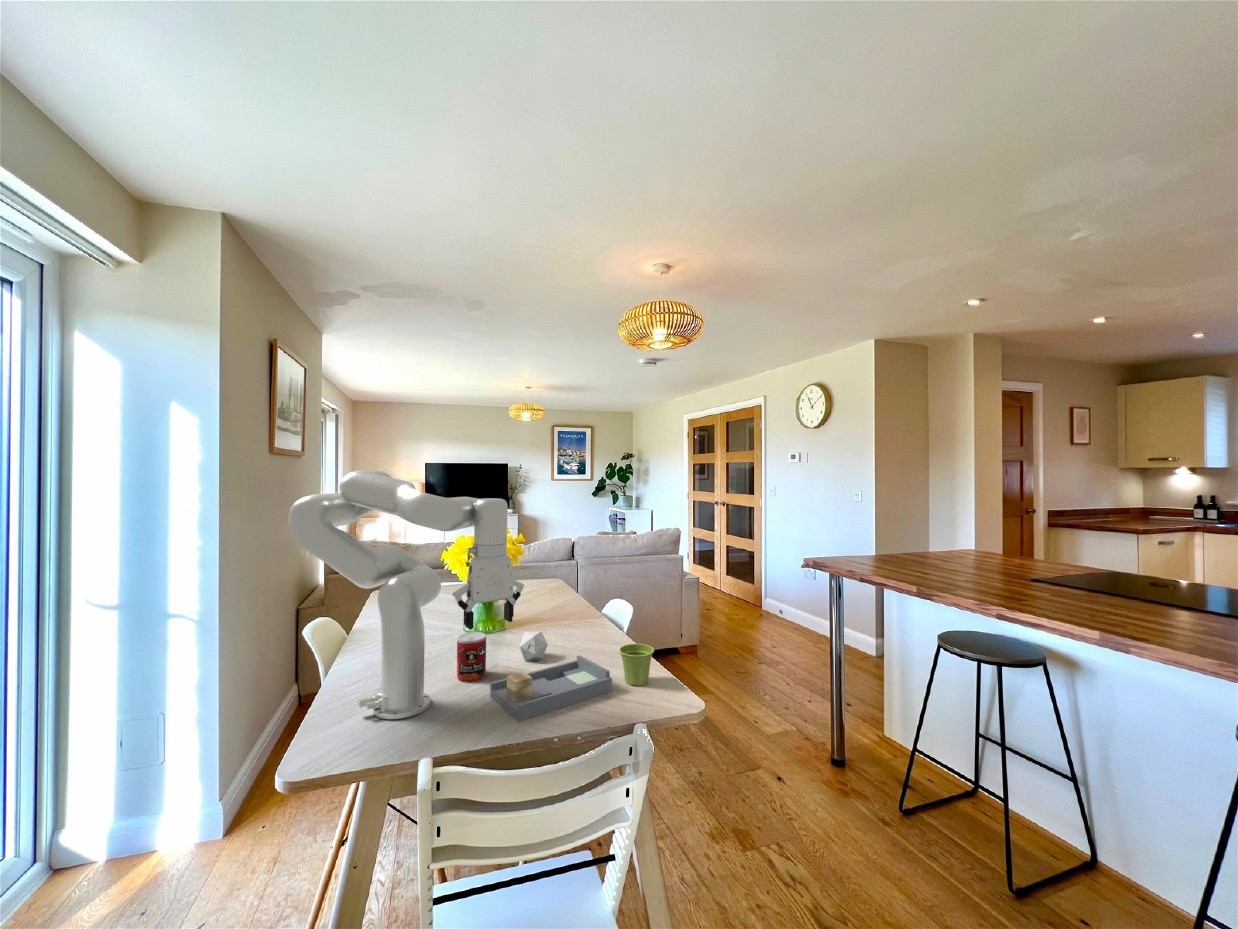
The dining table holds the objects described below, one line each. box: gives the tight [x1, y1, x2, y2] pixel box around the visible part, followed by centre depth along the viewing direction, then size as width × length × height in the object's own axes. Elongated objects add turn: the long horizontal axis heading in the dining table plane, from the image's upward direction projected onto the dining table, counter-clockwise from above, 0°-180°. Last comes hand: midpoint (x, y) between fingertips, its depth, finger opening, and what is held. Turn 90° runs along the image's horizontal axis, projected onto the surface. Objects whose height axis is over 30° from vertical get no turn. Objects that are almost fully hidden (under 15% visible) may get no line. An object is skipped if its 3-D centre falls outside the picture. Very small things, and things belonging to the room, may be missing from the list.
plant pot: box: [618, 643, 655, 687], centre depth 135 cm, size 9×9×9 cm
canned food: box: [456, 631, 487, 683], centre depth 138 cm, size 8×8×11 cm
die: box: [519, 630, 549, 662], centre depth 152 cm, size 8×9×10 cm
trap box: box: [489, 654, 613, 723], centre depth 127 cm, size 26×16×5 cm, turn 128°
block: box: [506, 671, 532, 701], centre depth 122 cm, size 4×4×4 cm
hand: (489, 624), depth 118 cm, fingers open, 9 cm apart
